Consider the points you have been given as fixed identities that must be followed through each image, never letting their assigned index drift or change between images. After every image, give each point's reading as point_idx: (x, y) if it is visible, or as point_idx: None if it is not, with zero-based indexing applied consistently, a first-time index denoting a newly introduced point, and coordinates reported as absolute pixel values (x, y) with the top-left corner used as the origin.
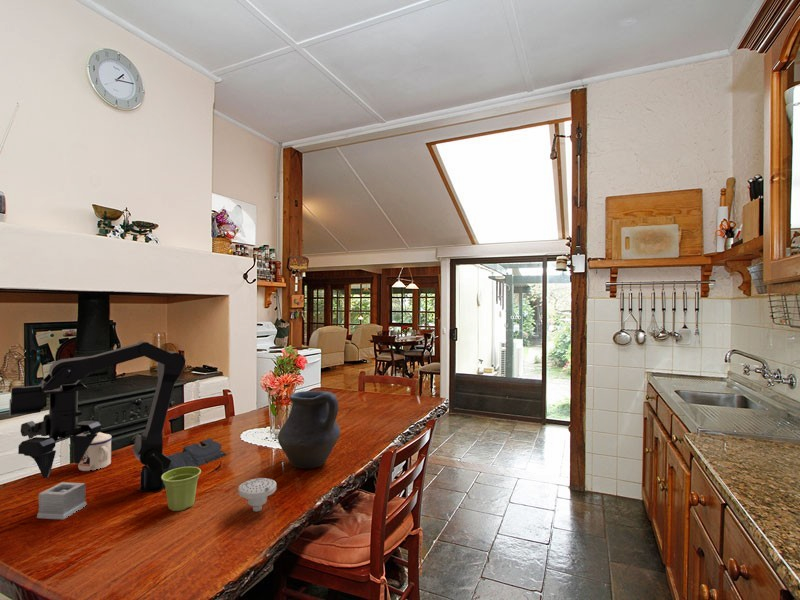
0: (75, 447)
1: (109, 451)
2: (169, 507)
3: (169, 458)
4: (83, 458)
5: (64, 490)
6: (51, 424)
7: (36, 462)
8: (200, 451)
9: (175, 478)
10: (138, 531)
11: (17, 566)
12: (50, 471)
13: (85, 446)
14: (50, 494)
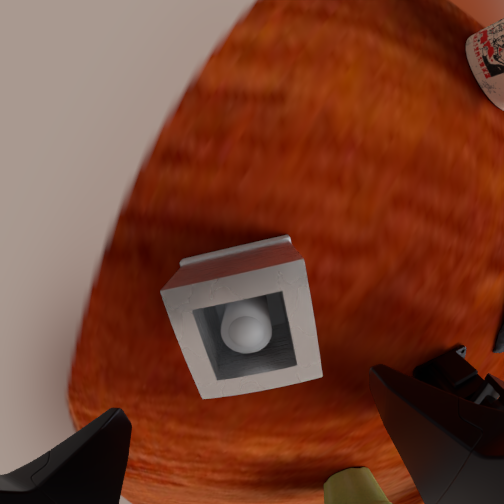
0: (439, 448)
1: None
2: (326, 483)
3: None
4: (493, 53)
5: (248, 343)
6: None
7: (32, 465)
8: None
9: (379, 499)
10: (242, 488)
11: (76, 412)
12: (126, 460)
13: (423, 499)
14: (180, 346)
